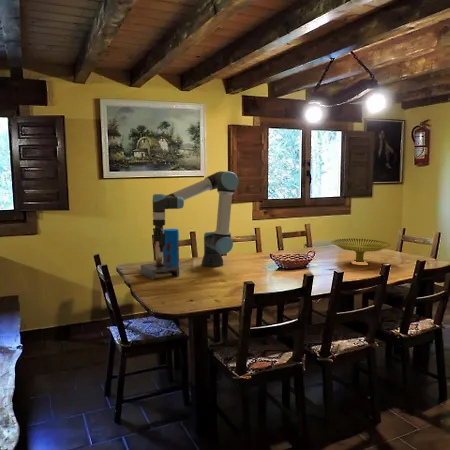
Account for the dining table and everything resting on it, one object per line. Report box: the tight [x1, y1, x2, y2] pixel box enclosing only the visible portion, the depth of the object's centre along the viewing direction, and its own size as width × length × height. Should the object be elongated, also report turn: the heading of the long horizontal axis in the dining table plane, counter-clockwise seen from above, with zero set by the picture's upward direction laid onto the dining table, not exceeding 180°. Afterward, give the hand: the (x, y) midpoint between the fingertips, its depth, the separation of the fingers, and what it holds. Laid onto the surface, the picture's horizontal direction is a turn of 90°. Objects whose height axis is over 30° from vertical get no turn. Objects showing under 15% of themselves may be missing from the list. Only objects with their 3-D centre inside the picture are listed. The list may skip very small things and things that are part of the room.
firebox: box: [140, 262, 180, 281], centre depth 278 cm, size 18×18×6 cm
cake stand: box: [330, 237, 391, 262], centre depth 313 cm, size 40×40×15 cm
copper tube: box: [155, 241, 163, 267], centre depth 277 cm, size 4×4×18 cm
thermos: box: [163, 228, 180, 267], centre depth 304 cm, size 11×11×25 cm
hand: (159, 256), depth 277 cm, fingers closed on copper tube, 4 cm apart
